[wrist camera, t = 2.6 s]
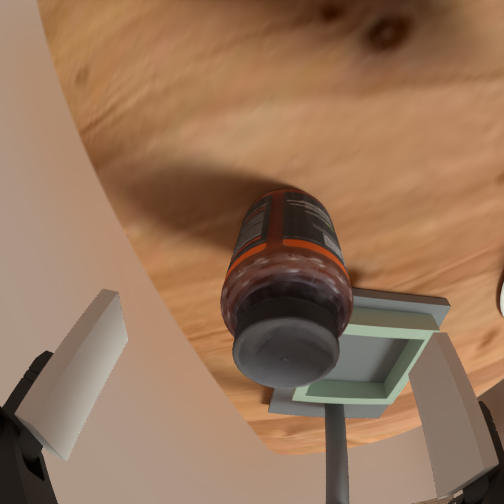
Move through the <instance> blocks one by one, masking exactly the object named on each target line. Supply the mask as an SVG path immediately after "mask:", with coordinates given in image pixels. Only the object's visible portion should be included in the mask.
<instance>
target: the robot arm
mask: <svg viewBox="0 0 504 504" xmlns="http://www.w3.org/2000/svg"><path fill="white" fill-rule="evenodd" d="M127 342H128V336H127V332H126V327H125V323H124V318H123V314H122V309H121V303H120V298H119V293H118V292H116V291H111V290H107V289H102V290H101V292H100V293H99V294H98V295H97V297H96V298H95V299H94V300H93V302H92V303H91V304H90V305H89V307H88V308H87V309H86V311H85V312H84V313H83V314H82V316H81V317H80V318H79V320H78V321H77V322H76V324H75V325H74V327H73V328H72V329H71V330H70V332H69V333H68V334H67V336H66V337H65V339H64V340H63V341H62V343H61V344H60V346H59V347H58V348H57V350H56V351H55V353H52V352H49V351H45V352H43V353H42V354H41V355H39V356H38V357H37V358H36V359H35V360H34V361H33V363H32V364H31V366H30V367H29V370H27V371H26V373H25V374H24V377H23V378H22V379H21V380H20V382H19V383H18V384H17V386H16V387H15V389H14V390H13V392H12V393H11V395H10V397H9V398H8V400H7V401H6V403H5V404H4V406H3V407H2V408H1V406H0V504H58V503H57V500H56V497H55V494H54V491H53V488H52V485H51V482H50V479H49V475H48V472H47V469H46V465H45V461H44V457H43V455H42V453H41V450H42V448H43V447H44V448H46V450H47V451H48V452H49V453H51V454H53V455H55V456H57V457H59V458H60V459H63V460H64V461H67V460H68V458H69V455H70V453H71V451H72V449H73V447H74V445H75V442H76V440H77V438H78V436H79V434H80V432H81V430H82V427H83V426H84V424H85V421H86V420H87V418H88V415H89V413H90V411H91V409H92V407H93V405H94V403H95V401H96V400H97V398H98V396H99V394H100V392H101V390H102V388H103V386H104V384H105V382H106V380H107V378H108V376H109V375H110V373H111V371H112V369H113V367H114V365H115V363H116V362H117V360H118V358H119V356H120V354H121V352H122V351H123V349H124V346H125V345H126V343H127ZM408 376H409V380H410V383H411V386H412V390H413V393H414V397H415V400H416V404H417V407H418V411H419V415H420V418H421V422H422V426H423V430H424V434H425V438H426V443H427V447H428V451H429V456H430V461H431V466H432V470H433V476H434V481H435V487H436V493H437V499H440V498H444V497H447V496H451V495H453V494H455V493H457V492H458V491H460V490H463V494H461V495H459V496H458V497H456V498H454V499H452V500H451V501H450V502H449V503H448V504H454V503H455V502H456V504H504V450H503V447H502V444H501V441H500V438H499V436H498V432H497V431H496V427H495V424H494V423H493V419H492V416H491V414H490V411H489V409H488V408H487V407H486V405H485V404H484V403H483V402H482V401H479V402H478V401H477V398H476V396H475V393H474V391H473V388H472V386H471V384H470V381H469V379H468V377H467V374H466V372H465V370H464V368H463V365H462V363H461V361H460V359H459V357H458V355H457V353H456V351H455V348H454V346H453V344H452V342H451V340H450V338H449V336H448V334H447V333H443V332H433V334H432V335H431V337H430V339H429V341H428V342H427V344H426V346H425V347H424V349H423V351H422V353H421V354H420V356H419V357H418V359H417V361H416V362H415V364H414V366H413V367H412V369H411V370H410V372H409V373H408Z"/></svg>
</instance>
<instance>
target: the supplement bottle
mask: <svg viewBox="0 0 504 504" xmlns="http://www.w3.org/2000/svg"><path fill="white" fill-rule="evenodd" d="M221 312H222V317H223V319H224V323H225V325H226V327H227V328H228V330H229V331H230V333H231V334H232V335H233V336H234V337H235V339H234V343H233V349H232V350H233V358H234V362H235V364H236V365H237V367H238V369H239V370H240V371H241V372H242V373H243V374H244V375H245V376H246V377H248V378H249V379H251V380H253V381H254V382H256V383H259V384H261V385H264V386H267V387H273V388H282V389H291V388H298V387H304V386H307V385H310V384H313V383H315V382H317V381H319V380H321V379H323V378H324V377H325V376H327V375H328V374H329V373H330V372H331V371H332V369H333V368H335V366H336V363H337V361H338V359H339V354H340V348H339V340H338V338H339V337H340V336H341V335H342V334H343V332H344V331H345V329H346V327H347V326H348V324H349V321H350V320H351V316H352V313H353V293H352V287H351V283H350V280H349V275H348V272H347V269H346V265H345V262H344V258H343V255H342V252H341V248H340V246H339V243H338V239H337V236H336V233H335V230H334V227H333V223H332V221H331V218H330V216H329V214H328V212H327V210H326V209H325V207H324V206H323V205H322V204H321V203H320V202H319V201H318V200H317V199H316V198H315V197H313V196H311V195H310V194H308V193H305V192H303V191H300V190H295V189H280V190H276V191H272V192H269V193H267V194H265V195H263V196H262V197H260V198H259V199H258V200H256V201H255V202H254V203H253V205H252V206H251V207H250V209H249V210H248V212H247V214H246V216H245V218H244V220H243V223H242V226H241V230H240V233H239V236H238V239H237V242H236V246H235V249H234V252H233V255H232V258H231V262H230V265H229V268H228V271H227V274H226V278H225V281H224V285H223V288H222V294H221Z"/></svg>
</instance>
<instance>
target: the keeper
mask: <svg viewBox="0 0 504 504" xmlns="http://www.w3.org/2000/svg"><path fill="white" fill-rule="evenodd" d="M452 499H454V495H451V496H447V497H444V498H440V499H437V498H435V499H431V500H427V501H423V502H419V503H413V504H448V503H449V502H450V501H451V500H452ZM454 504H455V503H454Z"/></svg>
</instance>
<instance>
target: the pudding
mask: <svg viewBox="0 0 504 504" xmlns="http://www.w3.org/2000/svg"><path fill="white" fill-rule="evenodd" d="M500 307H501V312H502V314H503V316H504V283H503V286H502V291H501V296H500Z"/></svg>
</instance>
